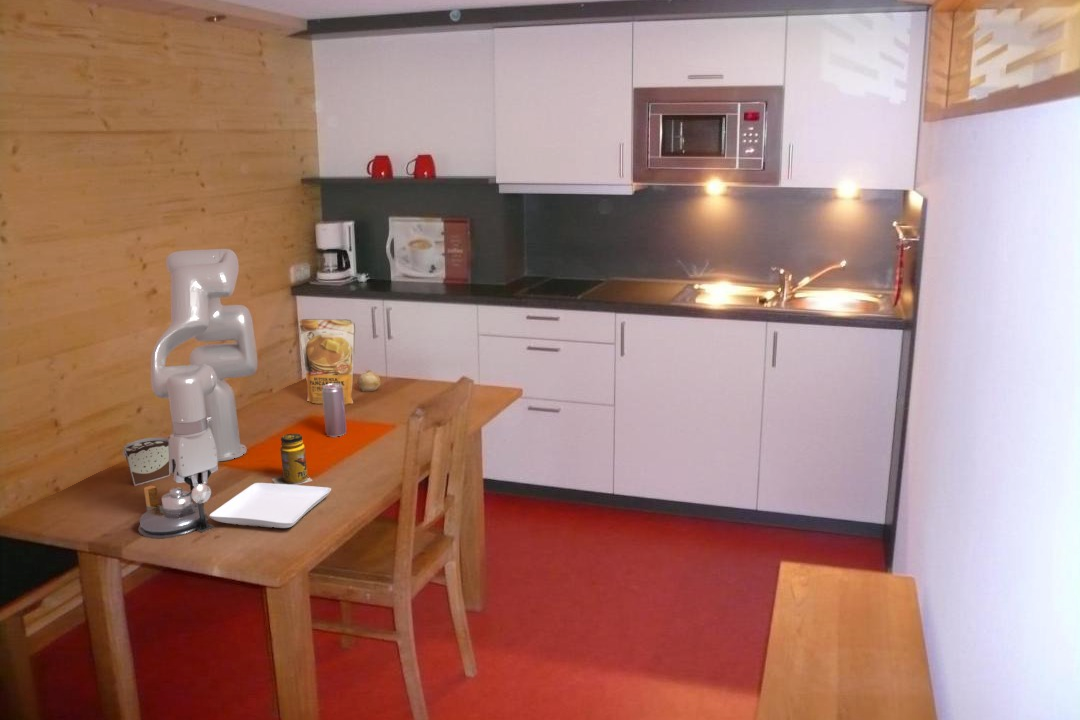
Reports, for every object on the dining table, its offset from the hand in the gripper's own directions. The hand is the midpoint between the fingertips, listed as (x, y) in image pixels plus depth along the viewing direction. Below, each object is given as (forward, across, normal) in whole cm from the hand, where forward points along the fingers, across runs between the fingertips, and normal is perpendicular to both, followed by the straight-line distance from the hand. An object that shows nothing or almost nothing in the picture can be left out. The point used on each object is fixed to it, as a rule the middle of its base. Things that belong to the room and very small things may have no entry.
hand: (199, 499), depth 216 cm
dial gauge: (+4, +4, +8) cm, 10 cm away
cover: (+1, +5, 0) cm, 6 cm away
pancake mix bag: (+4, -76, -50) cm, 92 cm away
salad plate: (+4, -11, +13) cm, 17 cm away
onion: (+4, -94, -51) cm, 107 cm away
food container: (+4, -4, -34) cm, 35 cm away
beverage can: (+4, -56, -22) cm, 60 cm away
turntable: (+3, +7, -2) cm, 8 cm away
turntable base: (+4, +7, 0) cm, 8 cm away
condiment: (+4, -26, -1) cm, 26 cm away
